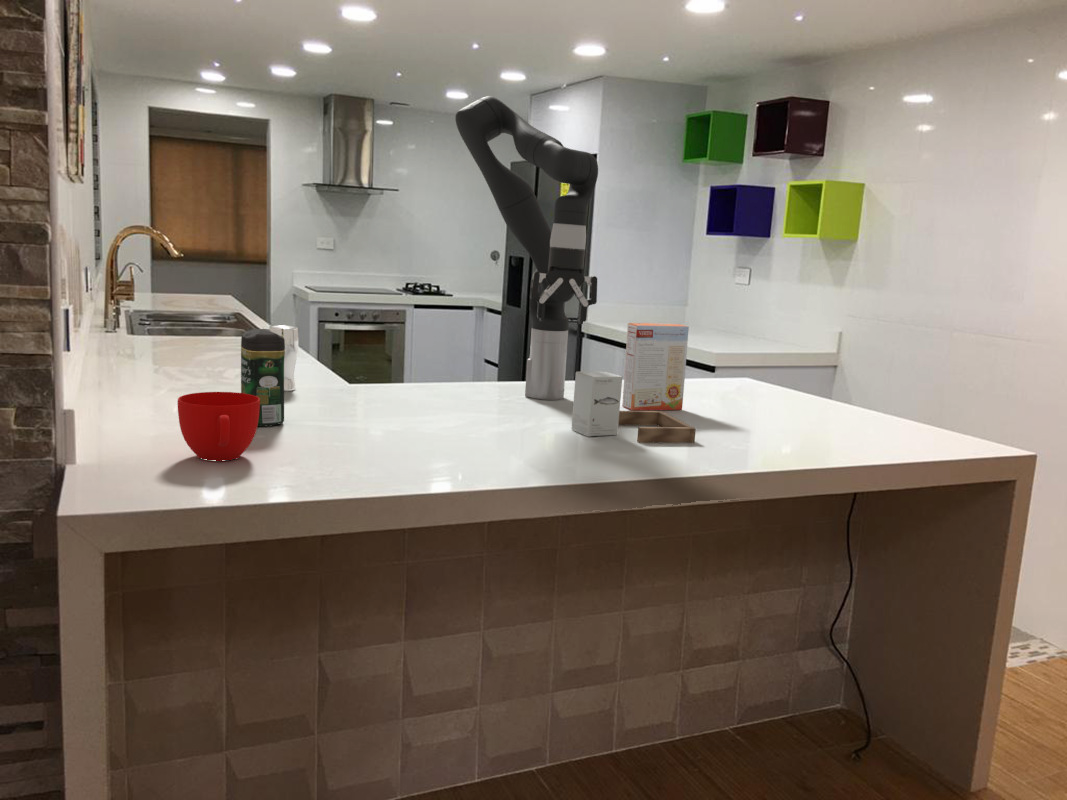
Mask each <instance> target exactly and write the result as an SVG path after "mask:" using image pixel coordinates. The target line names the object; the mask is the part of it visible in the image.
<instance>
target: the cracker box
mask: <svg viewBox="0 0 1067 800" xmlns="http://www.w3.org/2000/svg"><path fill="white" fill-rule="evenodd" d="M689 329H690V327H689V326H688V325H686V324H685V325H684V324H681V323H655V322H651V323H650V322H629V323H627V332H626V333H627V334H626V345H625V346H626V347H625V358H624V359H625V363H624V376H623V377H624V379H623V391H622V403H621V404H622V408H625V409H628V410H629V411H682V410H683V405H684V404H683V403H684V402H683V401H684V391H685V378H686V368H687V367H686V365H687V352H688V341H689Z"/></svg>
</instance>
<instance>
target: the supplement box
mask: <svg viewBox="0 0 1067 800" xmlns="http://www.w3.org/2000/svg"><path fill="white" fill-rule="evenodd" d="M622 386H623V376H621V375H618V374H616V373H615V374H614V373H612V372H608V371H576V372H575V379H574V390H573V391H574V392H573V404H572V419H571V430H572V431H574V432H577V433H578V434H580V435H584V436H585V437H588V438H589V437H595V436H597V437H598V436H599V437H600V436H617V435H618V433H619V425H618V423H619V411H621V410H620V409H621V398H622V388H623V387H622Z"/></svg>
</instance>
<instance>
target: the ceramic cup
mask: <svg viewBox="0 0 1067 800" xmlns="http://www.w3.org/2000/svg"><path fill="white" fill-rule="evenodd" d="M259 410H260V399H259V398H258V397H257V396H254V395H250V394H245V393H241V392H236V391H235V392H234V391H232V392H231V391H203V392H195V393H194V392H193V393H188V394H183V395H181V396H179V397H178V398H177V413H178V423H179V427H180V432H181V434H182V437H183V439H184V441H185V444H187V446H188V447H189V449H190V450H191V451H192V452H193V453H194V454H195V455H196V456H197V458H198V457H199V458H202V459H207V460H216V461H222V460H231V461H233V460H232V459H235V460H237V459H236V458H238V459H240V457H241V455H242V454H243V453H245V451H246V450H247V449H248V448H249V446H250V445H251V443H252V442H253V440H254V438H255V436H256V433H257V430H258V420H259ZM199 458H198V459H199ZM222 462H223V461H222Z"/></svg>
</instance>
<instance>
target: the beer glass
mask: <svg viewBox="0 0 1067 800" xmlns="http://www.w3.org/2000/svg"><path fill="white" fill-rule="evenodd" d="M268 329H269V330H270V331H272V332H274V333H276V334H278V335H280V336H282V337H283V338H284V340H285V358H284V392H293V391H295V390H297V389H296V382H295V381H296V380H295V371H296V364H297V360H298V353H299V331H298V329H299V328H298V326H293V325H269V327H268Z"/></svg>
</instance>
